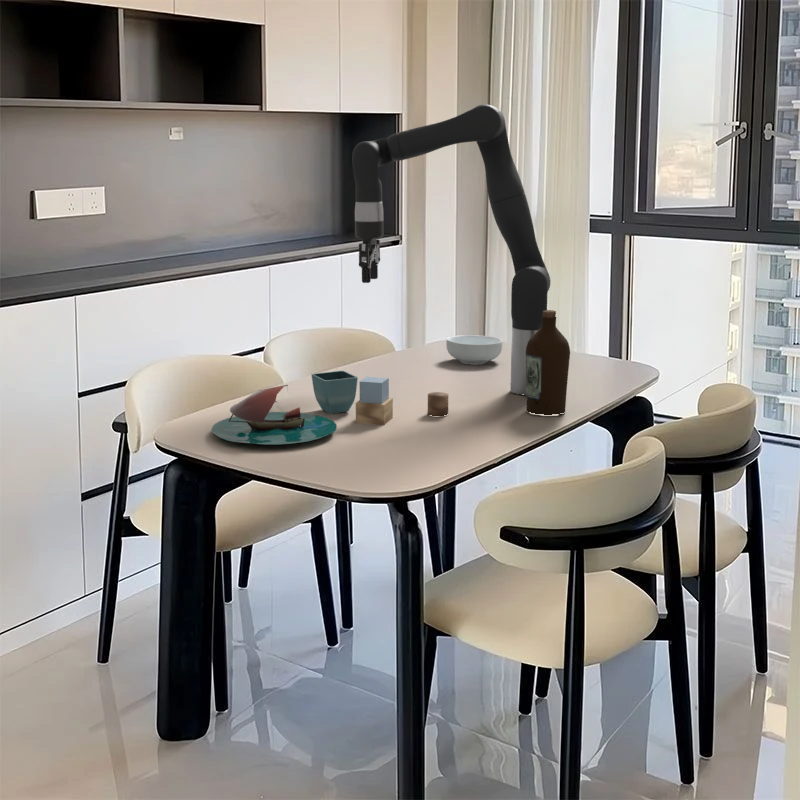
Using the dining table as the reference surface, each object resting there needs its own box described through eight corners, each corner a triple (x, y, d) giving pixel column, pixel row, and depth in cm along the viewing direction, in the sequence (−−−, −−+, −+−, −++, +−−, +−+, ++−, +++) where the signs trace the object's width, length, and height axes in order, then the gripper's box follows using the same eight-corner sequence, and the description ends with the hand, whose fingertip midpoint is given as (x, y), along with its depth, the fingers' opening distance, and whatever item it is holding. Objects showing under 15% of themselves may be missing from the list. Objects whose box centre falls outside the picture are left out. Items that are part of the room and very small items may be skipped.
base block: (392, 418, 263) (392, 398, 262) (384, 425, 256) (384, 404, 255) (364, 416, 265) (364, 396, 264) (355, 423, 258) (355, 402, 257)
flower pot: (325, 417, 264) (325, 380, 262) (311, 409, 271) (310, 373, 269) (358, 413, 268) (358, 377, 265) (343, 405, 275) (343, 370, 273)
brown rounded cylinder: (450, 412, 268) (450, 392, 267) (445, 417, 264) (445, 397, 262) (430, 411, 270) (430, 391, 268) (425, 416, 265) (425, 396, 264)
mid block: (388, 398, 261) (388, 378, 260) (382, 403, 256) (382, 382, 255) (366, 397, 263) (366, 376, 262) (359, 402, 258) (359, 381, 257)
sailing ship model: (199, 425, 256) (197, 378, 253) (313, 414, 266) (312, 369, 264) (230, 457, 231) (228, 405, 228) (354, 443, 241) (354, 393, 239)
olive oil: (553, 405, 276) (556, 306, 270) (575, 415, 266) (580, 312, 260) (515, 409, 272) (518, 309, 266) (537, 419, 262) (541, 315, 256)
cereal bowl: (504, 368, 320) (504, 344, 319) (446, 367, 321) (447, 344, 319) (499, 357, 337) (500, 334, 335) (445, 356, 337) (445, 333, 335)
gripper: (377, 221, 282) (377, 284, 285) (388, 217, 295) (389, 277, 299) (348, 221, 283) (349, 283, 287) (361, 217, 297) (362, 277, 301)
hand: (370, 280), depth 293 cm, fingers open, 8 cm apart
